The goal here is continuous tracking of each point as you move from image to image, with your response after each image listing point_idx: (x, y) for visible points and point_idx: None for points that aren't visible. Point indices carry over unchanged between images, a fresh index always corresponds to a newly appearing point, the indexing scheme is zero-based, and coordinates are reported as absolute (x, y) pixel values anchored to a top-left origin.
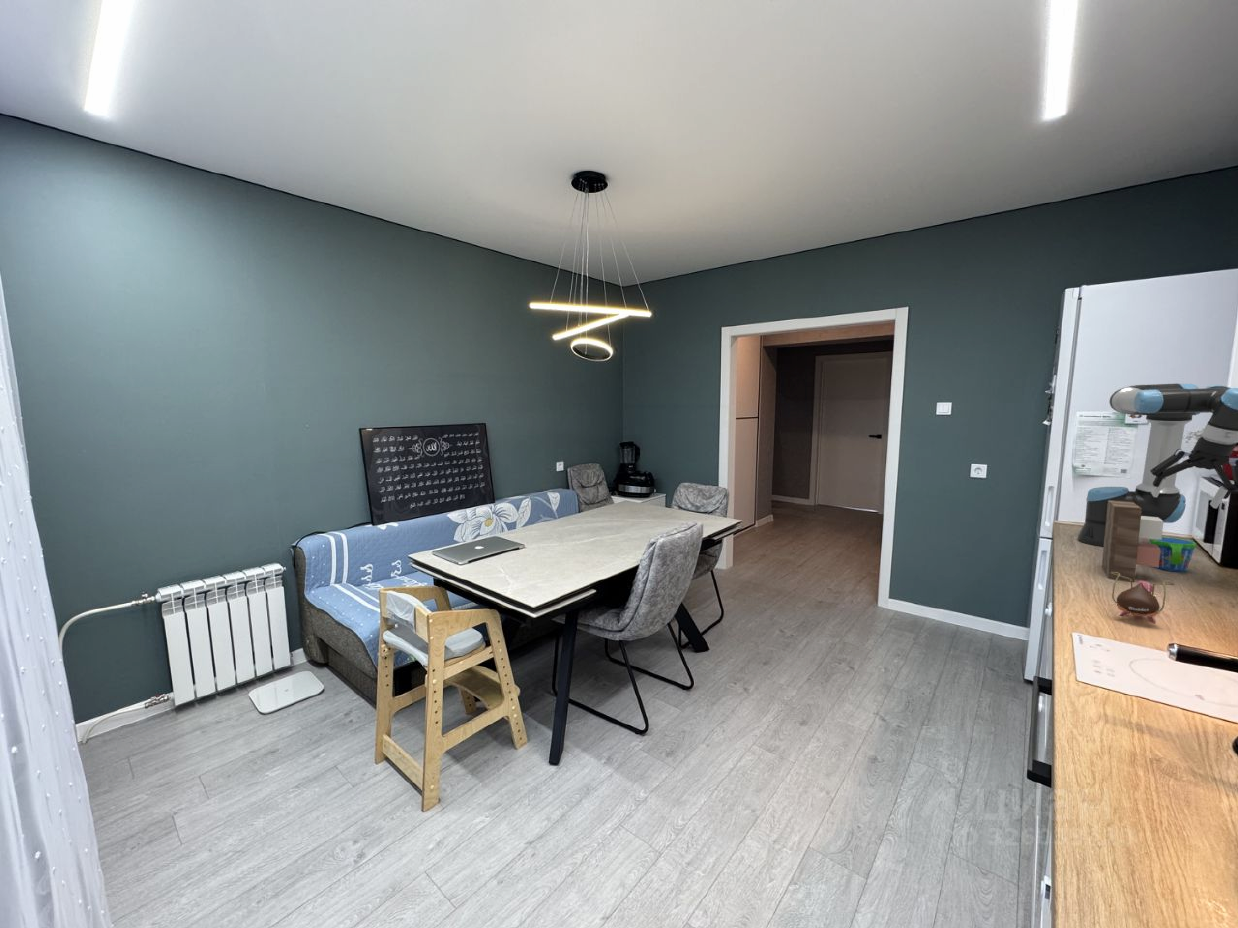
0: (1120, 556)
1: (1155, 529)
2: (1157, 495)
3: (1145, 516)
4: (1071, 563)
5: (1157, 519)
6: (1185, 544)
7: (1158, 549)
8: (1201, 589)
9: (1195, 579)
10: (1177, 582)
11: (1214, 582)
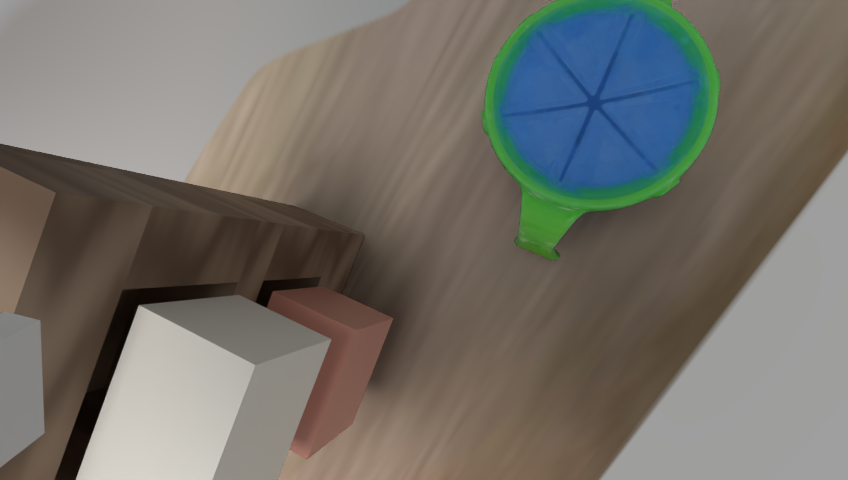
0: None
1: None
2: (9, 454)
3: (181, 343)
4: (212, 169)
5: (188, 477)
6: (600, 206)
7: (302, 453)
8: (496, 473)
9: (582, 313)
10: (466, 382)
11: (638, 347)
